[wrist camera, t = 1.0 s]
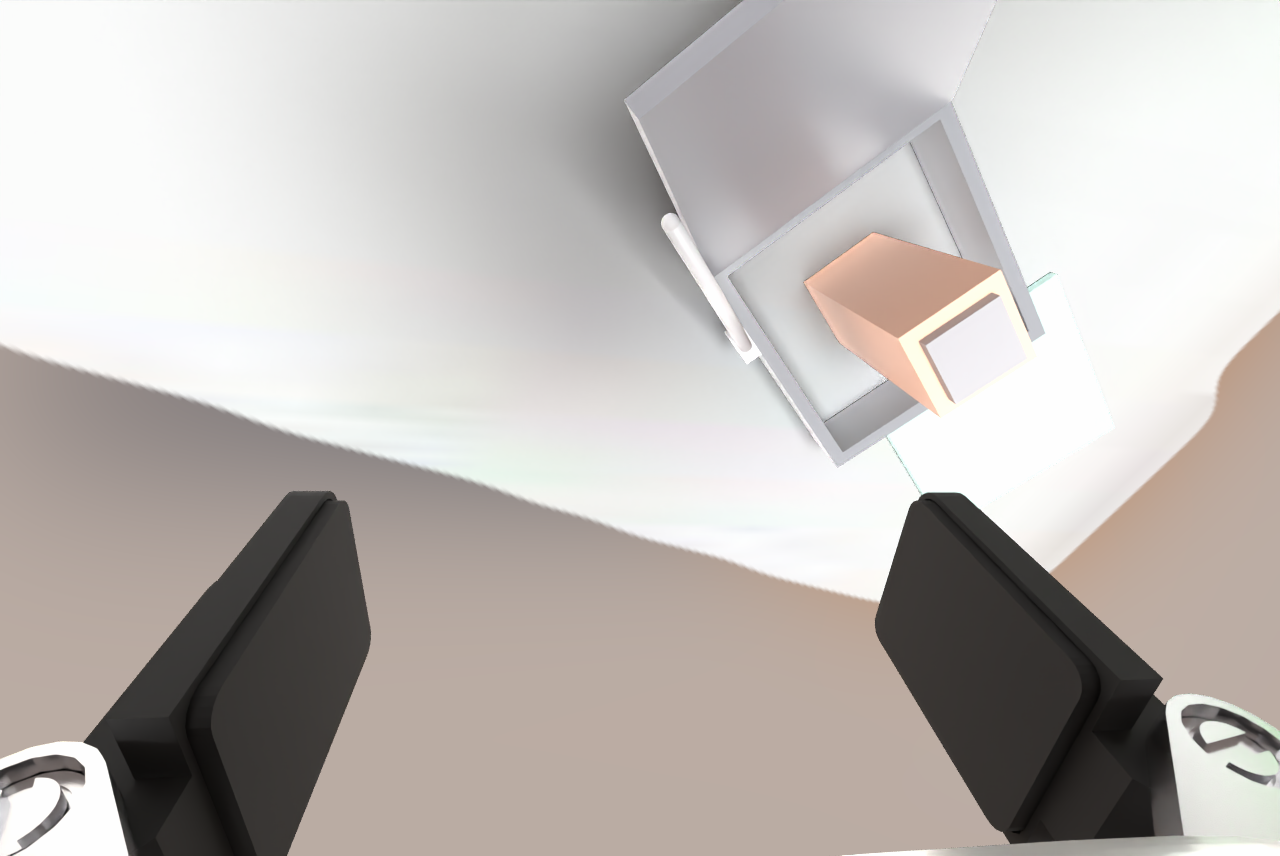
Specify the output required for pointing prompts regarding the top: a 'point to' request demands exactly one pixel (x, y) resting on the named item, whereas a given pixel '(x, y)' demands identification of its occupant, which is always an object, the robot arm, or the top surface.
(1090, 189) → the top surface
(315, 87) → the top surface
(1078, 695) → the robot arm
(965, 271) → the block
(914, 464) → the mat
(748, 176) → the case
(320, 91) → the top surface
